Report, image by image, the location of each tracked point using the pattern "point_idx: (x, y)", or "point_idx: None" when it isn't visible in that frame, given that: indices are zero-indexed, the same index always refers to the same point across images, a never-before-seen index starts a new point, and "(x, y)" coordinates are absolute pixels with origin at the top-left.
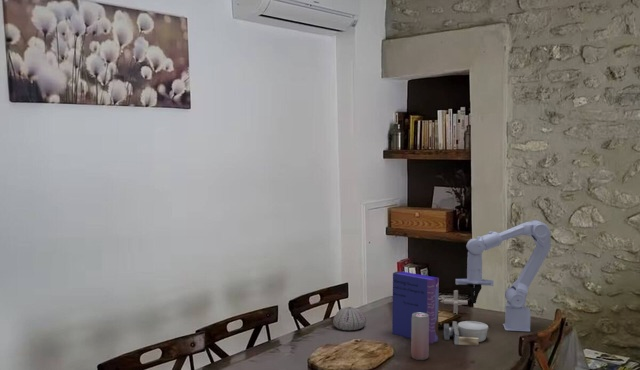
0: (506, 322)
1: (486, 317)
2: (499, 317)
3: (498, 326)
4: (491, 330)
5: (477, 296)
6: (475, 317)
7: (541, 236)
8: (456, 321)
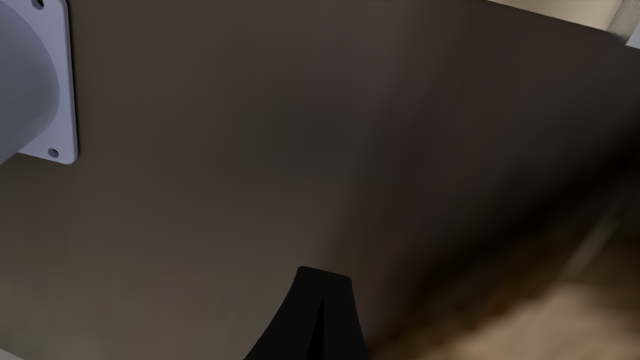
0: (18, 72)
1: (178, 321)
2: (91, 310)
3: (120, 130)
4: (201, 21)
5: (255, 344)
6: (254, 330)
7: None
8: (629, 42)
